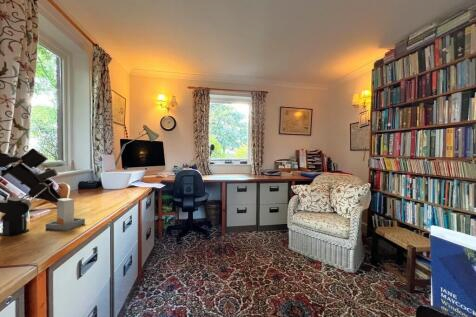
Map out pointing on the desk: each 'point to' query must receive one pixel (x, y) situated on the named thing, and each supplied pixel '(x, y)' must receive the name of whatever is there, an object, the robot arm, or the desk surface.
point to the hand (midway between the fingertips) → (58, 199)
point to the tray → (61, 227)
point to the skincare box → (65, 211)
